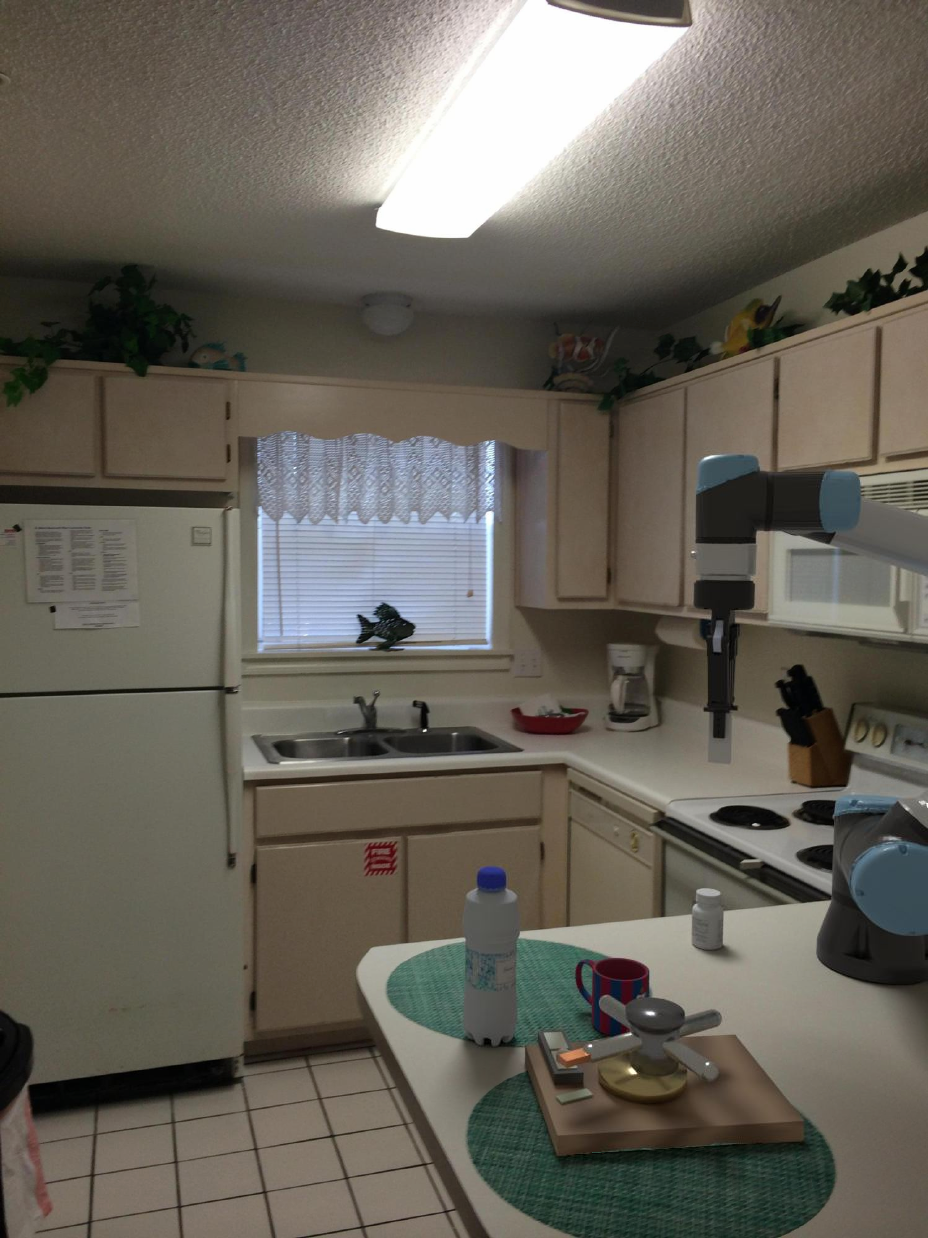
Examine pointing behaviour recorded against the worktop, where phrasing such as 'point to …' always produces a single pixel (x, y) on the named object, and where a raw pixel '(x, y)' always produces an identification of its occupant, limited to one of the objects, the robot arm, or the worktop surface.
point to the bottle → (490, 958)
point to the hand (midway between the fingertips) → (719, 761)
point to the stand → (699, 1116)
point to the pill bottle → (707, 920)
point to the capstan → (648, 1050)
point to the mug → (613, 988)
